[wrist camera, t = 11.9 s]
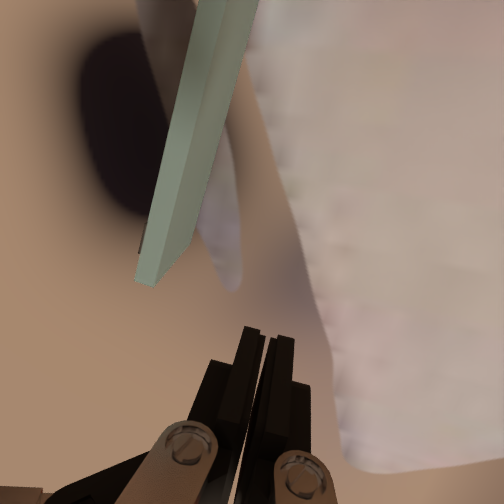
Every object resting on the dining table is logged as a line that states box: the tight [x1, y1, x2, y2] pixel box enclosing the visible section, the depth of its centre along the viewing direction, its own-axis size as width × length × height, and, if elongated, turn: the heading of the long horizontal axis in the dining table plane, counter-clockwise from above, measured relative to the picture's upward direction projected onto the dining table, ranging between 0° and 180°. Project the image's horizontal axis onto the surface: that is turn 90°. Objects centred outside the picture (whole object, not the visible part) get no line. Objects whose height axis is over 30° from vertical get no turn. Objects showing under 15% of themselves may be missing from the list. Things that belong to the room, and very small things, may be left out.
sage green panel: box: [134, 0, 259, 287], centre depth 22 cm, size 23×2×8 cm, turn 162°
